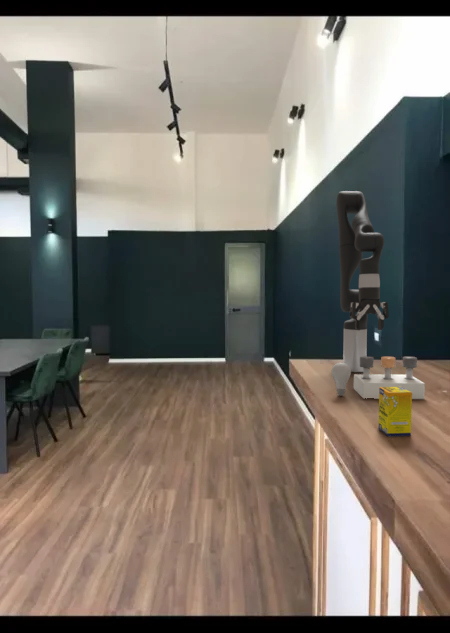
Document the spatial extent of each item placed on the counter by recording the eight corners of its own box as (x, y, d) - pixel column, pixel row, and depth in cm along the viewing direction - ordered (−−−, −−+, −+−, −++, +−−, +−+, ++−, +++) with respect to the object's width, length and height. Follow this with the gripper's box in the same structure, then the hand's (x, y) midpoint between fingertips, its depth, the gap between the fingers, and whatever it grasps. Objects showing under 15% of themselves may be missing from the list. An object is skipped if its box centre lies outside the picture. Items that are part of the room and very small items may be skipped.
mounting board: (353, 388, 169) (353, 374, 168) (409, 388, 168) (409, 374, 168) (363, 398, 155) (363, 383, 154) (424, 399, 154) (424, 383, 154)
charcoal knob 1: (357, 381, 164) (358, 356, 163) (371, 381, 164) (371, 356, 163) (361, 384, 159) (361, 358, 159) (374, 384, 159) (375, 358, 158)
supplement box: (377, 429, 124) (378, 386, 123) (400, 428, 124) (401, 386, 123) (387, 436, 118) (388, 392, 117) (411, 436, 118) (412, 391, 117)
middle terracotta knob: (379, 381, 163) (379, 356, 163) (392, 381, 163) (393, 356, 163) (382, 384, 159) (383, 358, 158) (396, 384, 159) (397, 358, 158)
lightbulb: (351, 394, 160) (351, 361, 159) (349, 399, 154) (350, 364, 153) (332, 393, 162) (332, 360, 161) (330, 397, 156) (330, 363, 155)
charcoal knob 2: (400, 381, 163) (400, 356, 162) (413, 381, 163) (414, 356, 162) (404, 384, 159) (405, 358, 158) (418, 384, 159) (419, 358, 158)
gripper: (382, 286, 187) (382, 329, 187) (347, 287, 185) (347, 329, 185) (392, 286, 179) (391, 330, 180) (354, 286, 177) (354, 330, 178)
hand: (369, 330), depth 182 cm, fingers open, 8 cm apart
